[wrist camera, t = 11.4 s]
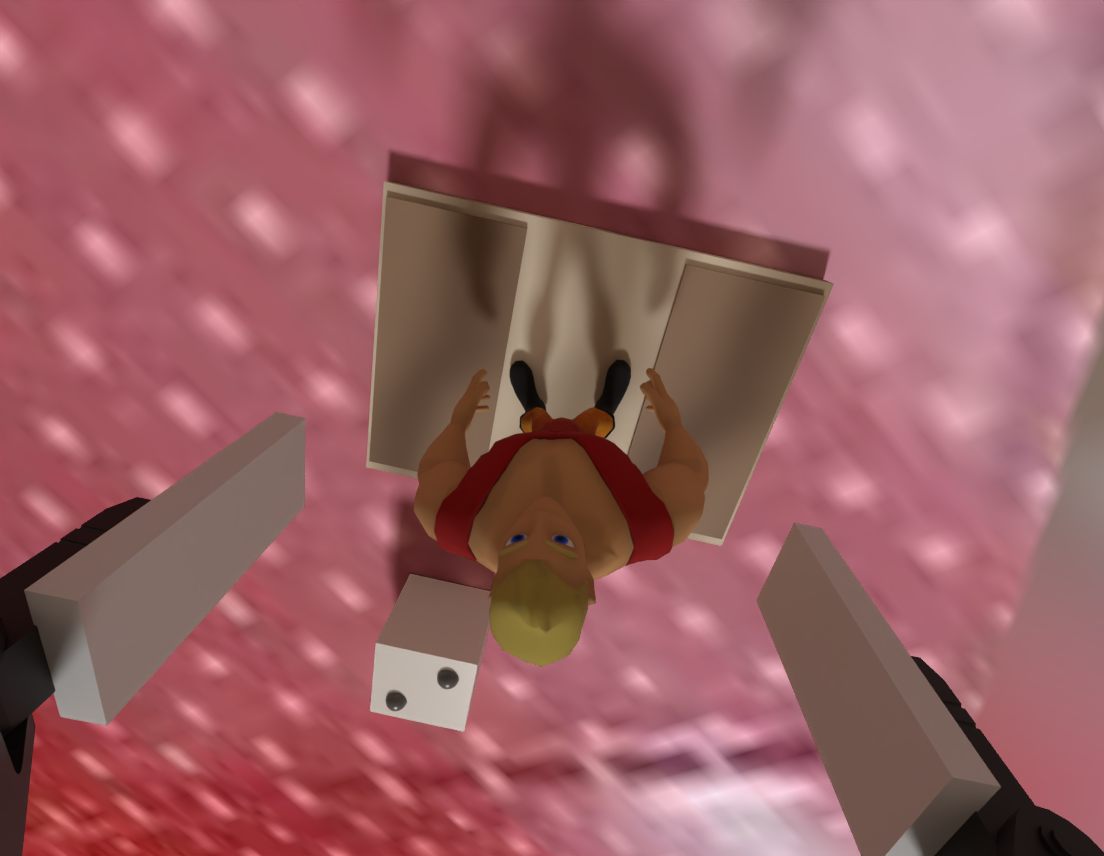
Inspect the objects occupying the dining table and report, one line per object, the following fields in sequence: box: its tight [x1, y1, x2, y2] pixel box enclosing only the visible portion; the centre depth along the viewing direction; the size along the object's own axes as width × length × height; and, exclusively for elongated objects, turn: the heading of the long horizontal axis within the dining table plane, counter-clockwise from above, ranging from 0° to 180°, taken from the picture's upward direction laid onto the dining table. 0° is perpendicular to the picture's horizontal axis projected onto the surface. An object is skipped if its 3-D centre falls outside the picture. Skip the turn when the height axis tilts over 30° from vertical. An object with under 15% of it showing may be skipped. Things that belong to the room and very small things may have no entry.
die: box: [370, 574, 491, 732], centre depth 28 cm, size 5×5×6 cm
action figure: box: [414, 360, 709, 667], centre depth 16 cm, size 10×4×15 cm, turn 92°
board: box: [366, 181, 833, 546], centre depth 23 cm, size 18×13×1 cm
